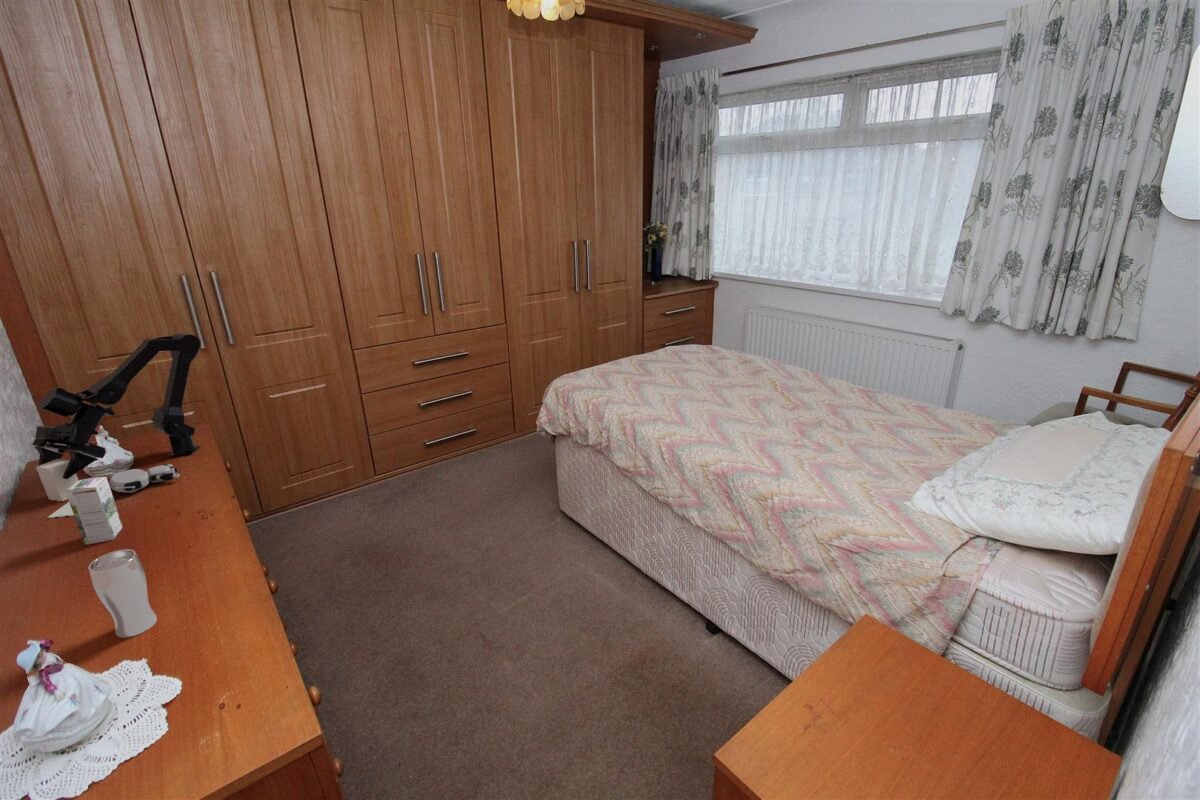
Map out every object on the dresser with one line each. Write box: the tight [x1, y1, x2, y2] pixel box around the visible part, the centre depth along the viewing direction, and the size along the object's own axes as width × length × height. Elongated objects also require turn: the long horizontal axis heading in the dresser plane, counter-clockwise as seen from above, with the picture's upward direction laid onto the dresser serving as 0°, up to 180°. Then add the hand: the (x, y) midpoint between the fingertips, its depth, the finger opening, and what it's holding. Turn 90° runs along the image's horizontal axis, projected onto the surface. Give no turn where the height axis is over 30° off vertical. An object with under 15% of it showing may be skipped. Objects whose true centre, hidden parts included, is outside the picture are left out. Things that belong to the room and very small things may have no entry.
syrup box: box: [66, 476, 124, 546], centre depth 128 cm, size 6×6×14 cm
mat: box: [47, 501, 74, 519], centre depth 142 cm, size 8×8×1 cm
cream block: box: [35, 458, 79, 502], centre depth 147 cm, size 5×5×10 cm
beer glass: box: [88, 548, 158, 639], centre depth 99 cm, size 7×7×15 cm
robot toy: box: [108, 463, 181, 494], centre depth 154 cm, size 12×4×15 cm
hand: (51, 476), depth 145 cm, fingers open, 9 cm apart
